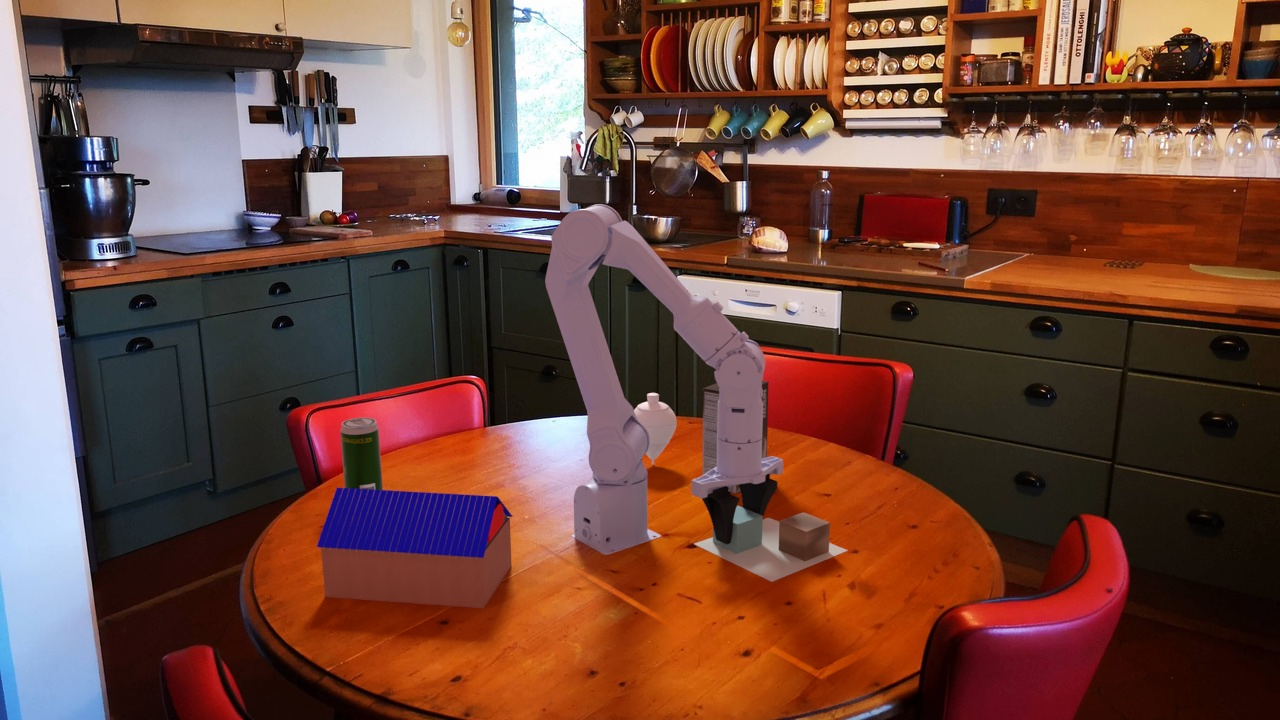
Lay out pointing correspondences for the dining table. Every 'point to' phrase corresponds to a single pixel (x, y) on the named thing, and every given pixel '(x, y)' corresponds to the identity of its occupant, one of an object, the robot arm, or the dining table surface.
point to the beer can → (361, 454)
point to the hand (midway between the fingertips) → (737, 536)
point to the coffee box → (711, 427)
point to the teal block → (744, 531)
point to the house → (415, 547)
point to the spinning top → (656, 423)
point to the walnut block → (804, 536)
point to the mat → (768, 555)
